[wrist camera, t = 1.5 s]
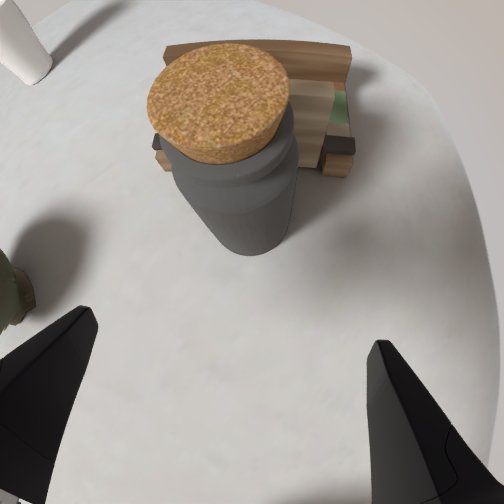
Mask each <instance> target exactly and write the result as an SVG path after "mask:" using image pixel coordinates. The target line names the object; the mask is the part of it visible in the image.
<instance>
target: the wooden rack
mask: <svg viewBox="0 0 504 504" xmlns="http://www.w3.org/2000/svg"><path fill="white" fill-rule="evenodd" d="M223 43H235V44H244V45H249V46H253V47H256V48H259V49H261V50H263V51H266V52H267V53H269V54H270V55H272V56H273V57H275V58H276V59H277V60H278V61H279V62H280V63H281V64H282V66H283V67H284V69H285V70H286V72H287V74H288V77H289V79H298V80H312V81H323V82H333V84H334V94H335V100H334V103H333V107H332V111H331V115H330V119H329V123H328V126H327V130H326V134H325V135H334V136H344V137H351V134H350V123H349V114H348V106H347V97H346V90H345V82H346V79H347V75H348V71H349V67H350V64H351V60H352V54H351V50H350V46H345V45H337V44H329V43H319V42H307V41H292V40H225V41H209V42H198V43H188V44H179V45H172V46H167V47H166V50H165V53H164V55H163V59H164V61H165V63H166V66H168V65H169V64H170V63H172V62H173V61H175V60H176V59H177V58H179V57H181V56H182V55H184V54H186V53H188V52H191V51H193V50H195V49H198V48H201V47H205V46H209V45H214V44H223ZM321 158H322V175H323V176H335V177H346V176H347V174H348V172H349V171H350V169H351V167H352V165H353V157H352V155H345V154H334V153H323V152H322V149H321ZM155 159H156V160H157V161H158V163H159V164H160V165H161V167H162V168H163V169H164V170H165V171H172V169H171V163H170V162H169V160H168V159H167V157H166V155H165V154H164V152H163V150H157V152H156V157H155Z"/></svg>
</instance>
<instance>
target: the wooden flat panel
mask: <svg viewBox="0 0 504 504" xmlns="http://www.w3.org/2000/svg"><path fill="white" fill-rule="evenodd" d="M289 80H290V86H291V88H290V98H289V102H290V104H291V106H292V109H293V114H294V135H295V137H296V140H297V144H298V150H299V162H298V167H312V168H316V167H317V163H318V159H319V156H320V152H321V149H322V152H323V153H334V154H345V155H354V154H355V152H356V150H355V139H354V138H353V137H344V136H334V135H325V134H326V130H327V126H328V123H329V119H330V115H331V111H332V107H333V103H334V100H335V94H334V84H333V82H323V81H312V80H298V79H289ZM152 147H153V149H154V150H162V147H161V144H160V137H159V133H156V134H155V136H154V140H153V144H152Z"/></svg>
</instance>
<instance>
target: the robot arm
mask: <svg viewBox="0 0 504 504" xmlns="http://www.w3.org/2000/svg"><path fill="white" fill-rule="evenodd" d="M97 332H98V323H97V321H96V318H95V316H94V314H93V311H92V309H91V308H90V307H87V306H82V305H80V306H78V307H76V308H74V309H73V310H71V311H70V312H68V313H67V314H65V315H64V316H62V317H61V318H59V319H58V320H56V321H55V322H53V323H52V324H51V325H49V326H48V327H46V328H45V329H43V330H42V331H40V332H39V333H37V334H36V335H34V336H33V337H32V338H30V339H29V340H27V341H26V342H24V343H23V344H21V345H20V346H19V347H17V348H16V349H14V350H13V351H12V352H10V353H9V354H7V355H6V356H5V357H4V358H2V359H0V504H21V503H20V502H19V498H20V499H23V500H25V501H27V502H30V503H32V504H45V502H46V497H47V493H48V488H49V484H50V480H51V476H52V472H53V469H54V465H55V464H54V463H55V461H56V457H57V454H58V450H59V447H60V443H61V440H62V437H63V434H64V431H65V427H66V424H67V421H68V418H69V415H70V412H71V409H72V407H73V404H74V401H75V398H76V395H77V393H78V390H79V387H80V384H81V382H82V379H83V377H84V374H85V371H86V368H87V365H88V362H89V359H90V355H91V352H92V348H93V345H94V342H95V338H96V335H97ZM367 417H368V429H369V443H370V459H371V485H372V504H504V485H502V484H501V483H499V482H498V481H497V480H496V479H495V478H494V477H493V475H492V474H491V473H490V472H489V471H488V469H487V468H486V467H485V466H484V465H483V463H482V462H481V461H480V460H479V459H478V458H477V456H476V455H475V454H474V453H473V452H472V450H471V449H470V448H469V447H468V445H467V444H466V443H465V441H464V440H463V439H462V437H461V436H460V435H459V433H458V432H457V430H456V429H455V427H454V426H453V425H452V424H451V422H450V420H449V419H448V418H447V416H446V415H445V413H444V412H443V411H442V409H441V408H440V406H439V405H438V404H437V402H436V401H435V400H434V398H433V397H432V396H431V394H430V393H429V391H428V390H427V389H426V387H425V386H424V385H423V383H422V382H421V381H420V379H419V378H418V377H417V375H416V374H415V373H414V371H413V370H412V369H411V367H410V366H409V365H408V364H407V362H406V361H405V360H404V358H403V357H402V356H401V354H400V353H399V352H398V351H397V349H396V348H395V347H394V345H393V344H392V343H391V342H390V341H389V340H376V341H375V343H374V344H373V347H372V349H371V351H370V353H369V355H368V358H367Z"/></svg>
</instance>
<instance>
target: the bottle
mask: <svg viewBox="0 0 504 504" xmlns="http://www.w3.org/2000/svg"><path fill="white" fill-rule="evenodd" d="M290 88H291V86H290V80H289V77H288V74H287V72H286V70H285V69H284V67H283V66H282V64H281V63H280V62H279V61H278V60H277V59H276V58H275V57H273V56H272V55H270V54H269V53H267V52H266V51H263V50H261V49H259V48H256V47H253V46H249V45H244V44H235V43H223V44H214V45H209V46H205V47H201V48H198V49H195V50H193V51H191V52H188V53H186V54H184V55H182V56H181V57H179V58H177V59H176V60H175V61H173V62H172V63H170V64H169V65H168V66H167V67H166V68H165V69H164V70H163V71H162V72H161V73H160V74H159V76H158V77H157V78H156V80H155V81H154V83H153V85H152V87H151V89H150V92H149V95H148V100H147V112H148V117H149V120H150V122H151V124H152V126H153V128H154V129H155V130H156V132H157V133H159V137H160V144H161V147H162V150H163V152H164V154H165V155H166V157H167V159H168V160H169V162H170V163H171V169H172V173H173V177H174V180H175V182H176V185H177V187H178V188H179V190H180V192H181V193H182V194H183V196H184V197H185V199H186V200H187V201H188V202H189V204H190V205H191V206H192V208H193V209H194V210H195V212H196V213H197V214H198V215H199V217H200V218H201V219H202V221H203V222H204V223H205V224H206V226H207V227H208V228H209V229H210V231H211V232H212V233H213V234H214V235H215V237H216V238H217V239H218V240H219V241H220V242H221V244H222V245H224V246H225V247H226V248H227V249H229V250H230V251H232V252H234V253H236V254H240V255H244V256H255V255H260V254H264V253H266V252H268V251H270V250H271V249H273V248H274V247H276V246H277V245H278V244H279V243H280V241H281V240H282V239H283V237H284V235H285V233H286V231H287V228H288V224H289V220H290V214H291V209H292V203H293V197H294V191H295V185H296V179H297V171H298V162H299V150H298V144H297V140H296V137H295V135H294V114H293V109H292V106H291V104H290V102H289V98H290Z"/></svg>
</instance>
